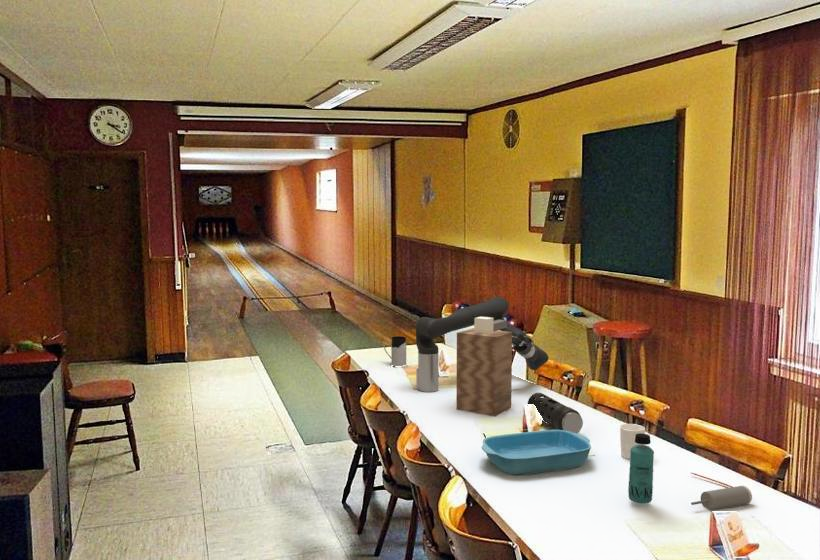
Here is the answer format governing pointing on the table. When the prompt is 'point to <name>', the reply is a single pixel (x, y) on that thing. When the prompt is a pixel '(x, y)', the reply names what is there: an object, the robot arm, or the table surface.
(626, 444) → the white cup
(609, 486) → the table surface
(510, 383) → the stand
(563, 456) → the casserole dish
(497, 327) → the plug
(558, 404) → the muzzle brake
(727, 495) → the motor
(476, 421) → the table surface
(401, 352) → the glass holder
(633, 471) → the beverage bottle
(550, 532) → the table surface
